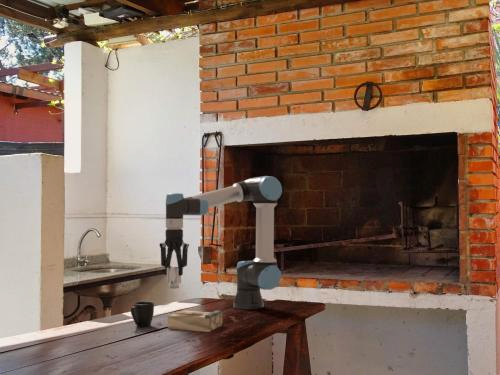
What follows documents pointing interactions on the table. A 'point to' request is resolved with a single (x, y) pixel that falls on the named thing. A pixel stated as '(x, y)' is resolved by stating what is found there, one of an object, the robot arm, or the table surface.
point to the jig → (195, 320)
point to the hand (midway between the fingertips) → (173, 282)
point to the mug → (142, 313)
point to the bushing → (173, 278)
